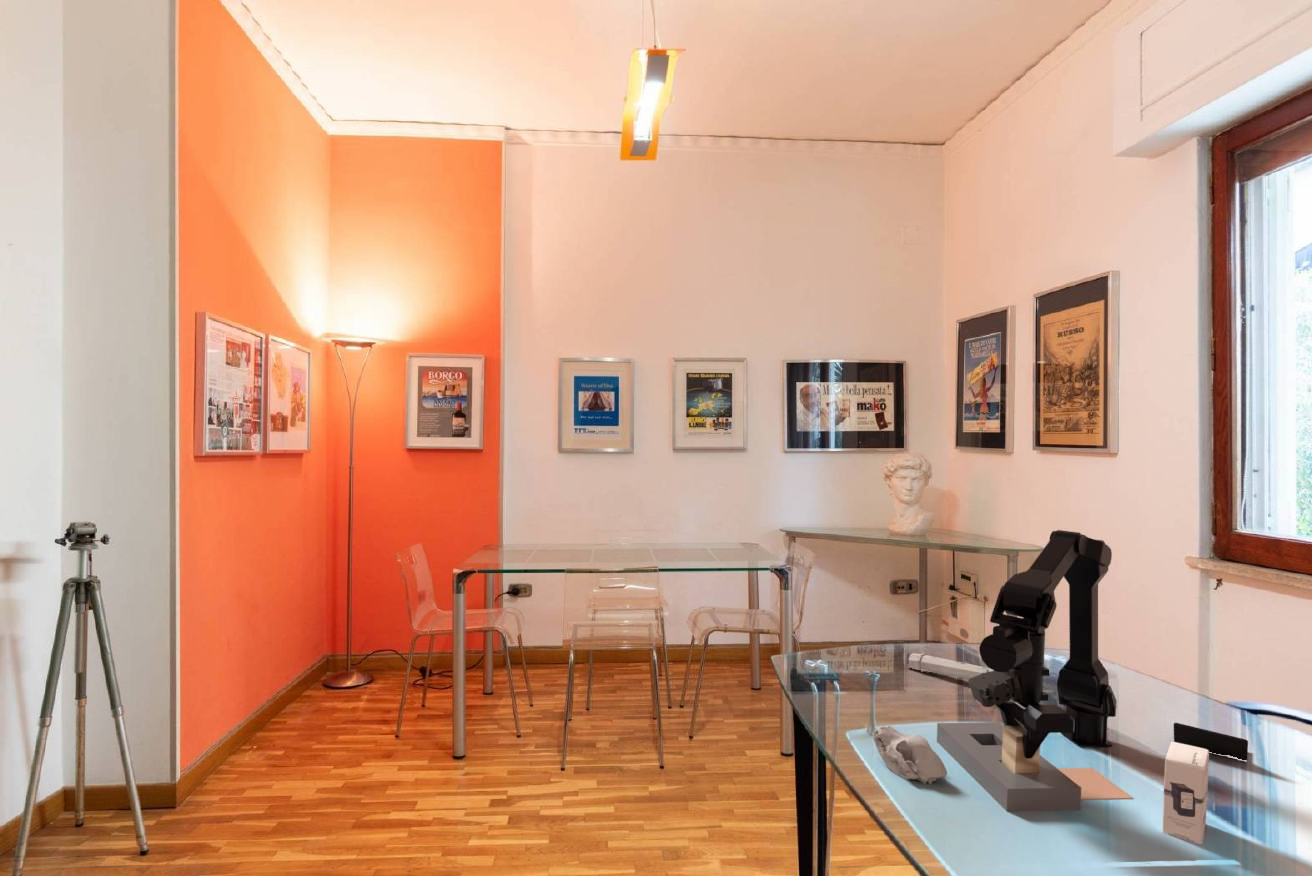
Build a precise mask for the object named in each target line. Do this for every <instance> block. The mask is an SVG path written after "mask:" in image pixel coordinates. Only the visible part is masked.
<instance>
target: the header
mask: <svg viewBox="0 0 1312 876" xmlns="http://www.w3.org/2000/svg"><path fill="white" fill-rule="evenodd" d="M936 726H937V728H936V729H937V730H936V743H937V744H939V745H940V746H941V747H942V749H943V750H945V752H947V754H948V755H949V756H951V757H952V758H953V759H954V760H955V762H957V764H959V765H960V767H961V768H963V770H965V772H966V773H967V774H969V775H970V777H972V778H973V779H974V780H975V781H976V782H977V784H979V785H980V786H981V787H982V788H983V790H985V792H987V794H989V795H990V796H991V797H992V798H993V800H994V801H996V803H998V804H999V805H1000V806H1001V807H1002V808H1003V809H1004V810H1005V812H1030V811H1031V812H1032V811H1033V812H1035V811H1036V812H1037V811H1039V812H1042V811H1081V808H1082V807H1081V804H1082V803H1081V802H1082V800H1081V787H1080V786H1079V785H1077V784H1076V783H1075V782H1073V781H1072V780H1071V779H1070V778H1068V777H1067V776H1066V775H1065V774H1063V773H1062V772H1061V771H1060V770H1058V769H1057V767H1056V766H1054V765H1053V764H1052V763H1051V762H1050V761H1048V760H1047V759H1046V758H1045V757H1043V756H1042V755H1041V754H1039V773H1017V774H1013V773H1012V772H1011V771H1010V770H1009V769H1008V768H1007V767H1006V766H1004V765H1003V764H1002V742H1003V726H1004V725H1003V724H1001V722H937V723H936Z"/></svg>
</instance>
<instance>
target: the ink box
mask: <svg viewBox="0 0 1312 876" xmlns="http://www.w3.org/2000/svg"><path fill="white" fill-rule="evenodd" d="M1209 763H1210V754H1209V750H1207V749H1204V748H1199V747H1195V746H1190V745H1186V744H1181V743H1177V742H1174V741H1171V742H1170V744H1169V746H1168V751H1167V754H1166V757H1165V760H1164V778H1163V779H1164V780H1163V782H1164V784H1163V799H1162V800H1163V804H1162V805H1163V806H1162V807H1163V808H1162V833H1163V834H1166V835H1169V836H1173V837H1175V838H1179V839H1183V840H1185V841H1188V842H1191V843H1193V844H1197V845H1202V844H1203V841H1204V836H1205V829H1206V825H1207V823H1206V822H1207V820H1206V819H1207V809H1208V808H1207V807H1208V790H1209V789H1208V787H1209V766H1210V765H1209Z"/></svg>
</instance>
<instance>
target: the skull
mask: <svg viewBox="0 0 1312 876" xmlns="http://www.w3.org/2000/svg"><path fill="white" fill-rule="evenodd" d="M872 734H873V735H872V736H873V741H874V744H875V747H876V750H877V752H878V754H879V755H880V758H881V759H882V761H883V762H884V764H885V765H886V767H887V768H888V769H889V770H890V771H891V772H892V773H894V774H896V775H898V776H900V777H901V778H903V779H905V780H908V781H909V780H914V781H915V780H917V781H920V782H921V783H923V784H925V785H926V783H928V784H933V782H936V781H937V780H938V779H940V778H945V777H946V776H947V775H948V771H947V768H946V765H945V763H944V762H943V760H942V759H941V758H940V756H939V755H938V754H937V753H936V752H935V751H934V750H933V749H932V747H931V745H930V743H929V740H927V739H926V738H925V737H923V736H922V735H921V734H905V733H903V732H901V731H898V730H897V729H896V728H894V727H892V726H891V725H888V726H883V725H881V726H878V727H876V728H874V731H873V733H872Z"/></svg>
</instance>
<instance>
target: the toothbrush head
mask: <svg viewBox="0 0 1312 876" xmlns="http://www.w3.org/2000/svg"><path fill="white" fill-rule="evenodd" d="M905 663H906V665H907V664H911V665H913V666H916V667H918V668H919V669H925V670H928V671H931V672H934V673H933V674H935V673H937V674H936V675H942V676H948V677H949V676H950V677H956V678H960V679H968V680H969V679H970V678H973V677H975V676H978V675H981V674H982V673H986V672H990V671H994V670H992V669H990V668H989V667H987V666H986V667H985V666H980V665H976V664H971V663H966V662H961V661H958V660H957V661H956V660H953V659H952V660H951V659H947V658H941V657H936V656H932V655H927V654H926V653H925V652H923V653H914V652H910V653H908V654H907V657H906V659H905Z"/></svg>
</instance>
